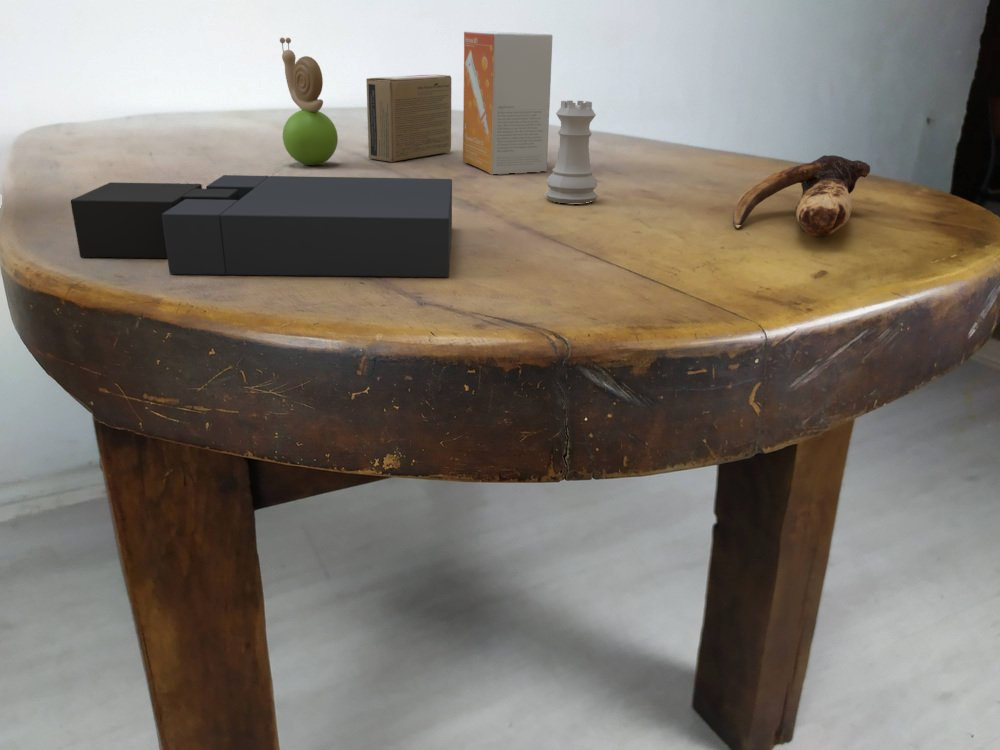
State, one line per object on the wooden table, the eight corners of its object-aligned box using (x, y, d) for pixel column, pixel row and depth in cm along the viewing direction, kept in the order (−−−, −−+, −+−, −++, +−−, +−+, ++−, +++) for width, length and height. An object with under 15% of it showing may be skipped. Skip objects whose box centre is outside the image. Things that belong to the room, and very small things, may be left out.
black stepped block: (79, 257, 51) (69, 199, 49) (117, 234, 56) (109, 182, 55) (226, 259, 51) (220, 202, 50) (249, 236, 56) (244, 184, 55)
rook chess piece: (582, 207, 68) (588, 105, 65) (535, 200, 70) (539, 101, 67) (606, 199, 72) (613, 102, 69) (560, 193, 74) (565, 98, 71)
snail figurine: (314, 158, 89) (307, 37, 85) (349, 165, 85) (343, 39, 80) (269, 162, 86) (259, 37, 81) (303, 170, 82) (294, 39, 77)
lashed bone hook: (749, 203, 74) (718, 241, 58) (755, 148, 72) (725, 172, 57) (863, 209, 70) (862, 252, 55) (872, 152, 69) (874, 179, 53)
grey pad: (169, 274, 48) (161, 213, 46) (228, 224, 60) (223, 174, 58) (448, 277, 48) (448, 217, 47) (451, 227, 60) (451, 178, 59)
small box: (461, 162, 89) (462, 30, 84) (516, 160, 91) (520, 31, 86) (490, 175, 82) (493, 32, 77) (548, 172, 84) (555, 33, 79)
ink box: (427, 149, 97) (427, 73, 94) (453, 153, 95) (453, 75, 92) (366, 159, 90) (363, 76, 86) (392, 163, 88) (390, 78, 84)
